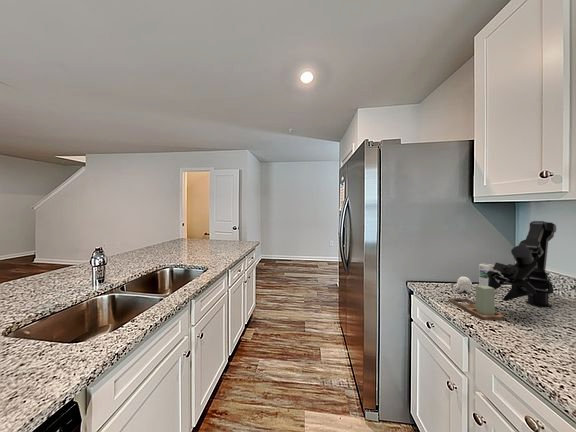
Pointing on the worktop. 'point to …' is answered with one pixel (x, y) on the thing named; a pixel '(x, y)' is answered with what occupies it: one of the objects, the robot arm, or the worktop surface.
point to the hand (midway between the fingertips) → (495, 296)
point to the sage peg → (485, 300)
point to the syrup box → (484, 273)
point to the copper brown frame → (472, 309)
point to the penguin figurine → (464, 284)
